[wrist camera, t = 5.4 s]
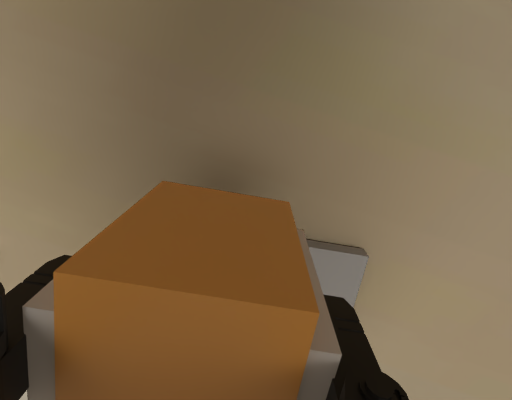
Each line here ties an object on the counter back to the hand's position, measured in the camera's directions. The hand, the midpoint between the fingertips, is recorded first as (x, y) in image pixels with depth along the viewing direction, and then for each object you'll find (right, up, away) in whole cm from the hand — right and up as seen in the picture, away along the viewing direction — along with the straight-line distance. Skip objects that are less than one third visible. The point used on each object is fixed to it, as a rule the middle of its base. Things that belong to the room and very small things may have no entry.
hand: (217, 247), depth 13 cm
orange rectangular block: (0, 0, 0) cm, 0 cm away
